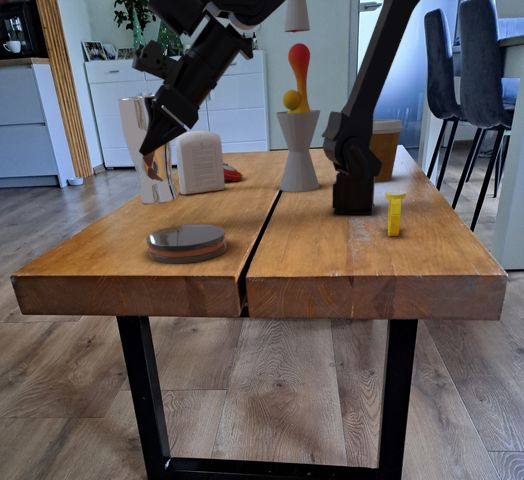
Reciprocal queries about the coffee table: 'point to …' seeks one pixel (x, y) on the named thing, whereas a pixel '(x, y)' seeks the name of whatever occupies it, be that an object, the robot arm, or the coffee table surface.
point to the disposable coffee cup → (385, 145)
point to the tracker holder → (231, 173)
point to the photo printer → (199, 162)
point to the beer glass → (154, 164)
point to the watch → (394, 211)
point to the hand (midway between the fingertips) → (142, 151)
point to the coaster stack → (186, 243)
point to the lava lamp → (298, 109)
